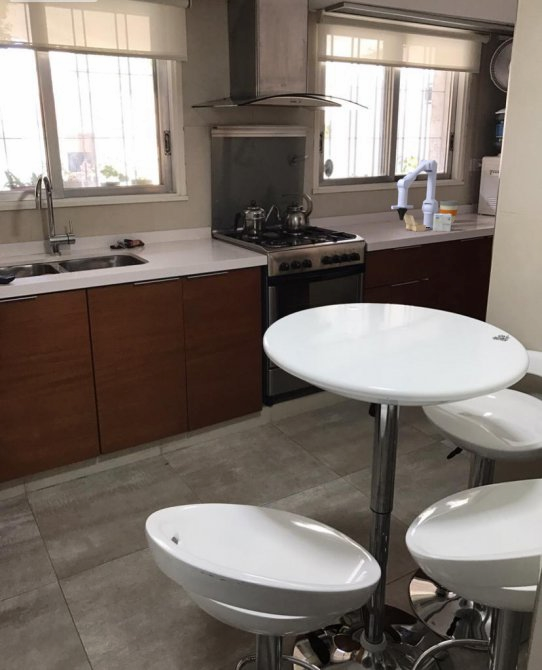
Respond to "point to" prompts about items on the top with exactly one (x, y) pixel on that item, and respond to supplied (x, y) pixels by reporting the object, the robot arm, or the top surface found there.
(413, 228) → the carton
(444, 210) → the reusable coffee cup
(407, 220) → the lid
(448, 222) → the light bulb box
